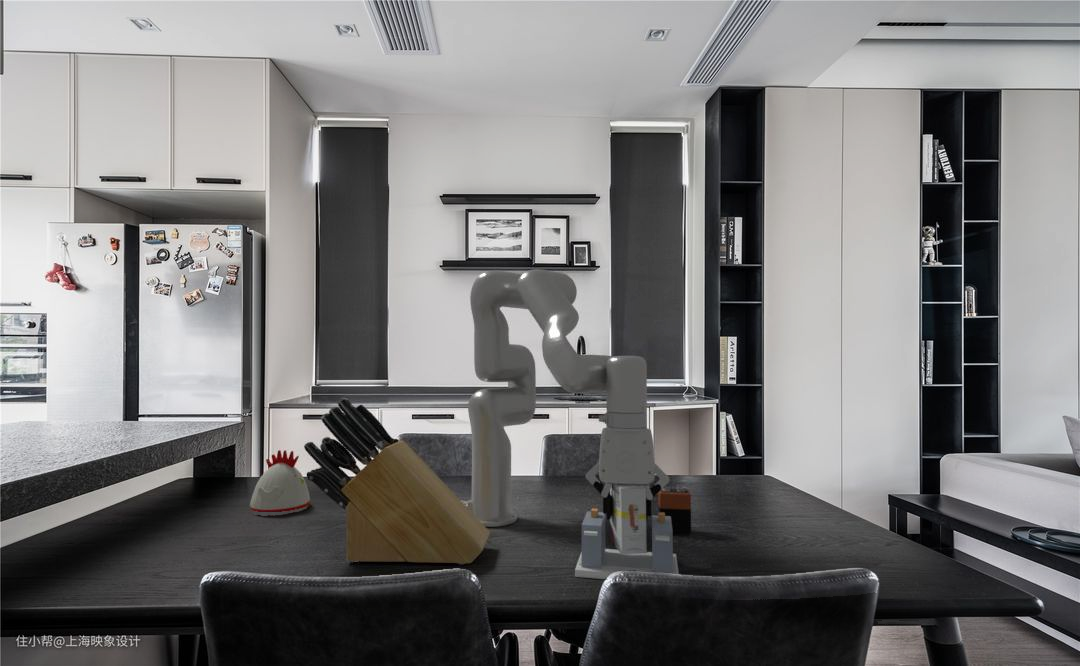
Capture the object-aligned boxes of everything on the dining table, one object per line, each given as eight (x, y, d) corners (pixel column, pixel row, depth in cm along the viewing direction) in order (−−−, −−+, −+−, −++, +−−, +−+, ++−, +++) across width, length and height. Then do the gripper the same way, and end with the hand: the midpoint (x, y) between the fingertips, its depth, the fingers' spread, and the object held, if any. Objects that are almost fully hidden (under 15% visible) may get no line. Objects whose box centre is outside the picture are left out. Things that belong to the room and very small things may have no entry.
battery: (691, 535, 119) (691, 489, 119) (660, 534, 120) (659, 488, 120) (688, 529, 123) (688, 485, 124) (658, 528, 124) (657, 484, 125)
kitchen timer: (294, 516, 132) (296, 455, 133) (238, 516, 132) (240, 454, 133) (318, 502, 146) (319, 446, 147) (267, 501, 146) (269, 446, 147)
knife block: (323, 543, 113) (327, 395, 114) (490, 547, 111) (492, 396, 113) (296, 563, 101) (301, 398, 103) (482, 567, 100) (484, 399, 101)
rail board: (574, 576, 96) (574, 520, 96) (583, 553, 107) (583, 502, 108) (679, 585, 92) (678, 526, 93) (676, 560, 104) (675, 508, 104)
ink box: (608, 539, 104) (608, 477, 105) (633, 538, 104) (633, 476, 105) (620, 555, 95) (620, 487, 96) (647, 554, 96) (647, 486, 97)
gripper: (578, 422, 99) (578, 521, 98) (674, 425, 96) (675, 527, 95) (583, 418, 107) (583, 510, 106) (673, 420, 103) (674, 516, 102)
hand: (627, 517), depth 100 cm, fingers closed on ink box, 6 cm apart
